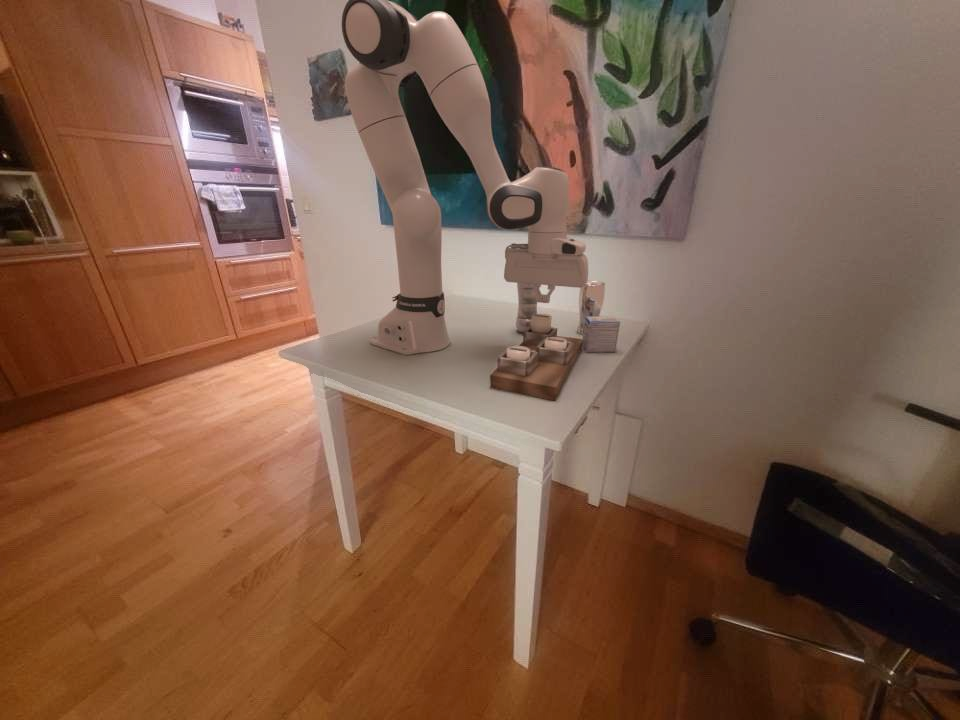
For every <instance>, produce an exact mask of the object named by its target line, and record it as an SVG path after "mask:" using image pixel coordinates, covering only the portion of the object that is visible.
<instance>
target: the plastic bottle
mask: <svg viewBox="0 0 960 720" xmlns="http://www.w3.org/2000/svg"><path fill="white" fill-rule="evenodd" d="M516 284H517V285H516V286H517V297H518V299H517V300H518V308H517V316H516V320H515V328H516V330H517V331H518V332H519V333H522V334H523V333H524V331H525V330H526V329H527V328H528V327H529V326H530V325H531V321H532V315H534V314H538V308H537V307H538V302H537V295H536V293H535V292H534V290H533V284H527V283H516Z"/></svg>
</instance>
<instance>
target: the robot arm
mask: <svg viewBox="0 0 960 720" xmlns="http://www.w3.org/2000/svg"><path fill="white" fill-rule="evenodd" d="M341 32H342V33H341V34H342V37H343V41H344V43H345V45H346V48H347V49H348V51H349V52H350V54H351V55H352V57H354V59H355V60H357V62H359V64H357V65H355V66H353V68H351V69H350V70H348V73H347V74H346V76H345V79H344V90H345V93H346V99H347V102H348V106H349V109H350V113H351V116H352V119H353V122H354V124H355V125H354V126H355V128H356V130H357V133H358V136H359V137H360V140H361V142H362V145H363V147H364V150H365V152H366V155H367V158H368V160H369V162H370V165H371V167H372V169H373V172H374V174H375V177H376V179H377V181H378V184H379V185H380V188H381V190H382V192H383V195H384V196H385V197H384V198H385V199H386V202H387V204H388V207H389V209H390V212H391V214H392V223H393V232H394V233H393V234H394V242H395V252H396V261H397V270H398V271H397V272H398V281H399V294H397V295H394V296H393V297H391V299H393V300H391V301H392V302H396V304H395V307H394V308H392V310H390V311H389V312H388V313H387V314H386V315H384V316H383V317H382V318H381V319H380V320H379V323H378V327H377V331H378V332H377V334H375V335H374V336H373V337H372V338H371V339H370V344H371V345H373V346H376V347H380V348H382V349H385V350H389V351H392V352H394V353H399V354H402V355H406V356H410V355H413V354H414V355H415V354H420V353H431V352H436V351H440V350H442V349H445V348H447V347H448V346H449V345H450V344H451V343H452V342H451V339H450V336H449V333H448V329H447V324H446V318H445V313H446V311H445V309H446V304H445V301H446V300H445V293H444V292H443V278H442V277H443V276H442V275H443V274H442V234H443V233H442V212H441V207H440V205H439V203H438V201H437V200H436V198H435V197H434V196H433V195H432V193H431V189H430V186H429V183H428V181H427V180H428V179H427V177H426V174H425V170H424V167H423V164H422V161H421V156H420V154H419V151H418V148H417V146H416V142H415V140H414V136H413V134H412V131H411V128H410V126H409V123H408V120H407V117H406V113H405V111H404V109H403V106H402V104H401V99H400V95H399V88H405V87H406V86H407V85H408V84H409V83H410V82H411V81H412V79H413V78H414V77H415V78H416V76H417V75H418V76H419V77H420V79H421V80H422V82H423V85H424V87H425V88H426V91H427V94H428V96H429V98H430V99H431V102H432V104H433V106H434V108H435V110H436V112H437V113H438V116H440V118H441V120H442V121H443V122H444V124H445V126H446V127H447V128H448V130H449V131H450V132H451V134H452V135H453V136H454V138H455V139H456V140H457V142H458V143H459V144H460V146H461V147H462V148H463V150H464V151H465V152H466V155H467V156H468V157H469V159H470V161H471V164H472V166H473V168H474V170H475V173H476V174H477V177H478V179H479V181H480V183H481V186H482V188H483V190H484V193H485V201H486V202H485V203H486V207H485V208H486V214H487V216H488V217H487V218H488V219H489V221H490V222H491V224H493V226H495V227H496V228H499V229H501V230H504V231H516V230H519V229H521V228H527V229H528V230H527V232H528V233H527V243H511V244H509V245H508V246H506V247H505V250H504V258H505V264H504V271H503V278H504V279H503V280H505V282H507V283H516V284H517V283H527V284H533V290H534V292H535V293H536V295H537V303H540V304H541V303H542V304H549V303H550V302H551V295H552V293H554V291H555V289H556V287H567V288H578V289H579V288H582V287H584V286H585V285H586V284H587V282H588V281H589V262H588V257H587V256H586V255H585V254H584V253H585V252H586V249H587V245H586V243H585V242H582V241H580V240H577V239H574V238H571V237H569V236H567V234H568V229H567V228H568V227H567V217H568V215H569V212H570V211H569V210H570V179H569V175H568V174H567V173H566V172H565V170H563V169H561V168H558V167H553V166H545V165H539V166H536V167H535V168H534V169H532V170H531V171H530V172H529V173H527V174H525V175H523V176H522V177H520V178H518V179H516V180H513V181H511V180H510V179H509V177H508V175H507V172H506V170H505V168H504V165H503V162H502V160H501V158H500V156H499V153H498V150H497V148H496V145H495V142H494V139H493V138H494V137H493V130H492V113H491V112H492V110H491V109H492V108H491V102H490V97H489V93H488V89H487V86H486V85H487V84H486V82H485V80H484V77H483V74H482V71H481V69H480V66H479V64H478V62H477V60H476V57H475V55H474V54H473V50H472V48H471V47H470V45H469V43H468V41H467V39H466V38H465V36H464V34H463V33H462V31H461V29H460V28H459V25H458V24H457V22H455V20H454V19H453V17H452V16H451V15H449V14H448V13H447V12H445V11H432V12H429V13H427V14H426V15H424V16H423V17H421V18H420V19H418V18H417V17H416V16H415V15H414V14H412V13H410V12H408V10H406V9H405V8H404V7H402V6H401V5H399V4H398V3H396V2H394V1H390V0H348V1H347V2H346V4H345V6H344V8H343V11H342V16H341ZM542 286H547V290H548V291H547V294H544V293H543V294H542V293H541V289H540V288H541V287H542Z"/></svg>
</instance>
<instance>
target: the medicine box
mask: <svg viewBox="0 0 960 720" xmlns="http://www.w3.org/2000/svg"><path fill="white" fill-rule="evenodd" d="M620 325H621V321H620V320H619V319H618V318H617V317H615V316H611V315H610V316H609V315H608V316H599V317H585V323H584V332H583V335H582V339H583V344H582V349H583V348H584V349H583V350H584V352H585V353H612V352H613V353H614V352H616V350H617V344H618V337H619V331H620Z"/></svg>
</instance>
